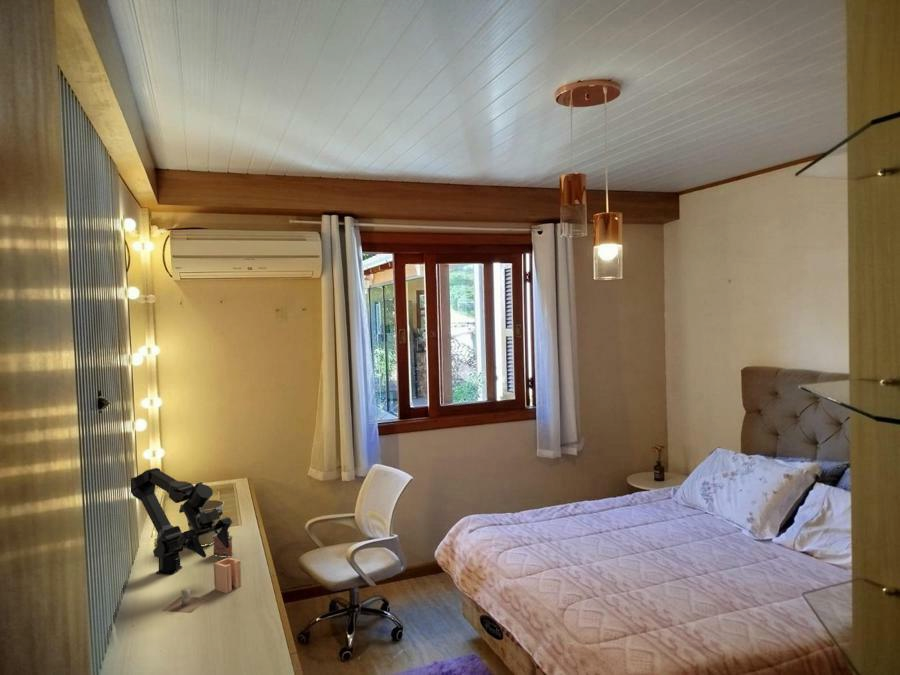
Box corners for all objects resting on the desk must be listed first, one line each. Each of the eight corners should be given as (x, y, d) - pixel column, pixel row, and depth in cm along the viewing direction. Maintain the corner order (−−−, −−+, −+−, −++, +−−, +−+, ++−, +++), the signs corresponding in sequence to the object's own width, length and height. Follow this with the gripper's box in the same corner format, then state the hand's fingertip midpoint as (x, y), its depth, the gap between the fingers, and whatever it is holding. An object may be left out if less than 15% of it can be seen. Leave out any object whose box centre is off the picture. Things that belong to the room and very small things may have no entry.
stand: (161, 613, 188) (161, 596, 188) (181, 598, 198) (180, 582, 198) (191, 615, 187) (190, 598, 187) (209, 600, 197) (208, 584, 196)
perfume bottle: (234, 554, 235) (234, 529, 235) (229, 557, 232) (228, 532, 232) (217, 552, 237) (216, 527, 237) (211, 556, 234) (210, 530, 234)
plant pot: (216, 550, 240) (215, 510, 240) (179, 550, 241) (178, 510, 240) (230, 536, 255) (229, 499, 255) (196, 537, 256) (194, 499, 255)
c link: (214, 589, 203) (213, 563, 203) (229, 583, 208) (228, 557, 208) (226, 593, 200) (225, 566, 200) (241, 586, 205) (240, 560, 205)
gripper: (181, 508, 201) (203, 548, 195) (228, 494, 217) (250, 530, 211) (167, 528, 205) (188, 567, 200) (214, 512, 221) (235, 548, 216)
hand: (217, 552), depth 207 cm, fingers open, 9 cm apart
